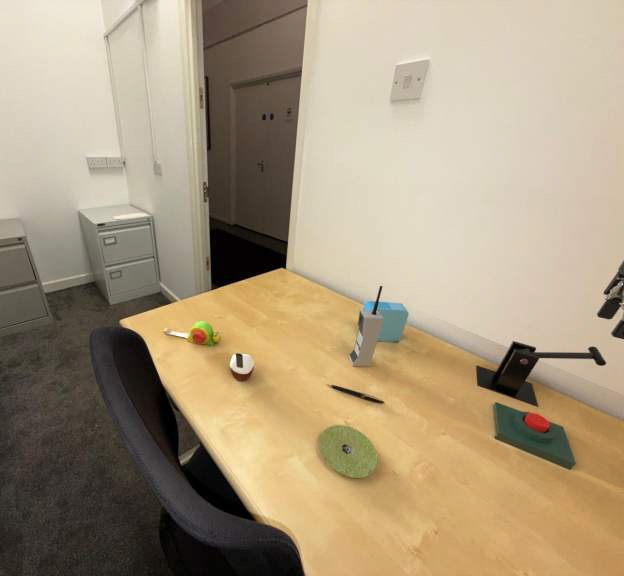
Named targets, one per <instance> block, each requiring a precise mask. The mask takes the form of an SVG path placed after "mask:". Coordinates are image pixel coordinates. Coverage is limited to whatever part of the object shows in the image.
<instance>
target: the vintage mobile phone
mask: <svg viewBox="0 0 624 576" xmlns="http://www.w3.org/2000/svg"><path fill="white" fill-rule="evenodd" d="M382 290H383V285H379V288H378V292H377V296H376V300H375V301H376V302H375V305H374V309H373V310H363V309H360V310H359V313H358V320H357V321H358V322H357V326H358V327H359V329H358V330H357V334H356V338H355V343H354V347H353V350H352V351H351V352H350V353H349V354H348V359H349V361H350V364H351V366H352V367H359V368H360V367H361V368H363V367H364V368H365V367H366V368H369V367H371V364H372V361H373V357H374V354H375V350H376V347H377V344H378V341H377V340H378V337H379V333H380V330H381V327H382V323H383V320H384V319H383V317H382V316H381V315H380V313H379V312H378V311H377V307H378V303H379V302H380V297H381V294H382Z"/></svg>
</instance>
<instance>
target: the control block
mask: <svg viewBox="0 0 624 576" xmlns="http://www.w3.org/2000/svg"><path fill="white" fill-rule="evenodd" d="M492 408H493V415H494V425H495V426H494V427H495V435H494V439H495V440H496V441H498V442H501V443H503V444H506V445H509V446H511V447H514V448H515V449H518V450H521V451H522V452H525V453H528V454H530V455H532V456H535V457H537V458H539V459H543V460H544V461H547V462H549V463H552V464H554V465H556V466H558V467H562V468H564V469H566V470H569V471H571V470H572V469H573V468H574V466H575V465H576V460H575V457H574V454H573V451H572V448H571V446H570V442H569V440H568V437H567V433H566V431H565V428H564V426H563V425H560V424H557V423H554V422H552V421H550V420H548V422H549V423H550V426H549V428H548V429H547V430H546V432H543V433H541V432H538V431H536V430H533V429H532V428H530V427H529V426H527V425H526V423H525V422H524V419H525V417H526V416H527V414H528V413H531V412H530V411H522V410H519V409H517V408H513V407H511V406H508V405H505V404H502V403H499V402H497V401H495V402H494V403H493V405H492Z"/></svg>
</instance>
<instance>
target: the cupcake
mask: <svg viewBox="0 0 624 576" xmlns="http://www.w3.org/2000/svg"><path fill="white" fill-rule="evenodd" d="M254 366H255V361H254V359H253V358H252V356H251V355H249V354H248V353H247V354H246V353H239V352H236V353H234V354H232V357H231V360H230V363H229V367H230V373H231V376H232V377H233V378H234V379H236V380H238V381H247V380H248V379H249V378H250V377H251V376H252V374H253V372H254V368H255V367H254Z"/></svg>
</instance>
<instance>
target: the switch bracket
mask: <svg viewBox="0 0 624 576" xmlns="http://www.w3.org/2000/svg"><path fill="white" fill-rule="evenodd" d="M514 348H527V349H529V351H530V352H537V347H536V346H532V345H529V344H525V343H522V342H519V341H515V340H513V341H511V344H510V345H509V347H508V348H507V351H506V352H505V354H504V356H503V358H502V360H501V362H500V363H499V365H498V366H497V368H496V370H492V369H489V368H486V367H484V366H480V365H475V369H476V371H475V372H476V385H477V387H480V388H483V389H486V390H489V391H491V392H494V393H496V394H499V395H504V396H506V397H508V398H511V399H514V400H517V401H518V402H519V401H520V402H522V403H525V404H528V405H531V406H534V407H536V408H538V407H539V404H538V400H537V397H536V393H535V390H534V385H533V383H532V382H529V381H527V379H528V377H529V376H530V374H531V372H532V371H533V370H534V368H535V367H536V365H537V363H538V361H539V360H540V358H539V356H536V355H533V354H529V353H526V352H522V351H519V350H516V349H515V350H514Z"/></svg>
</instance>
